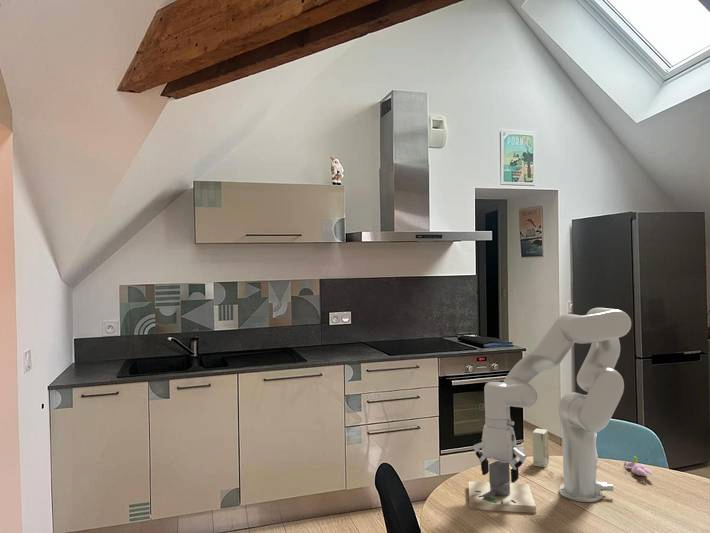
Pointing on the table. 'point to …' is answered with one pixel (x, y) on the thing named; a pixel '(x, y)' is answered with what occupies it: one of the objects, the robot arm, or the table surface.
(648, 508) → the table surface
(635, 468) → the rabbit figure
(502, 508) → the dial board
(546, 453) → the skincare box
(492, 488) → the knob
